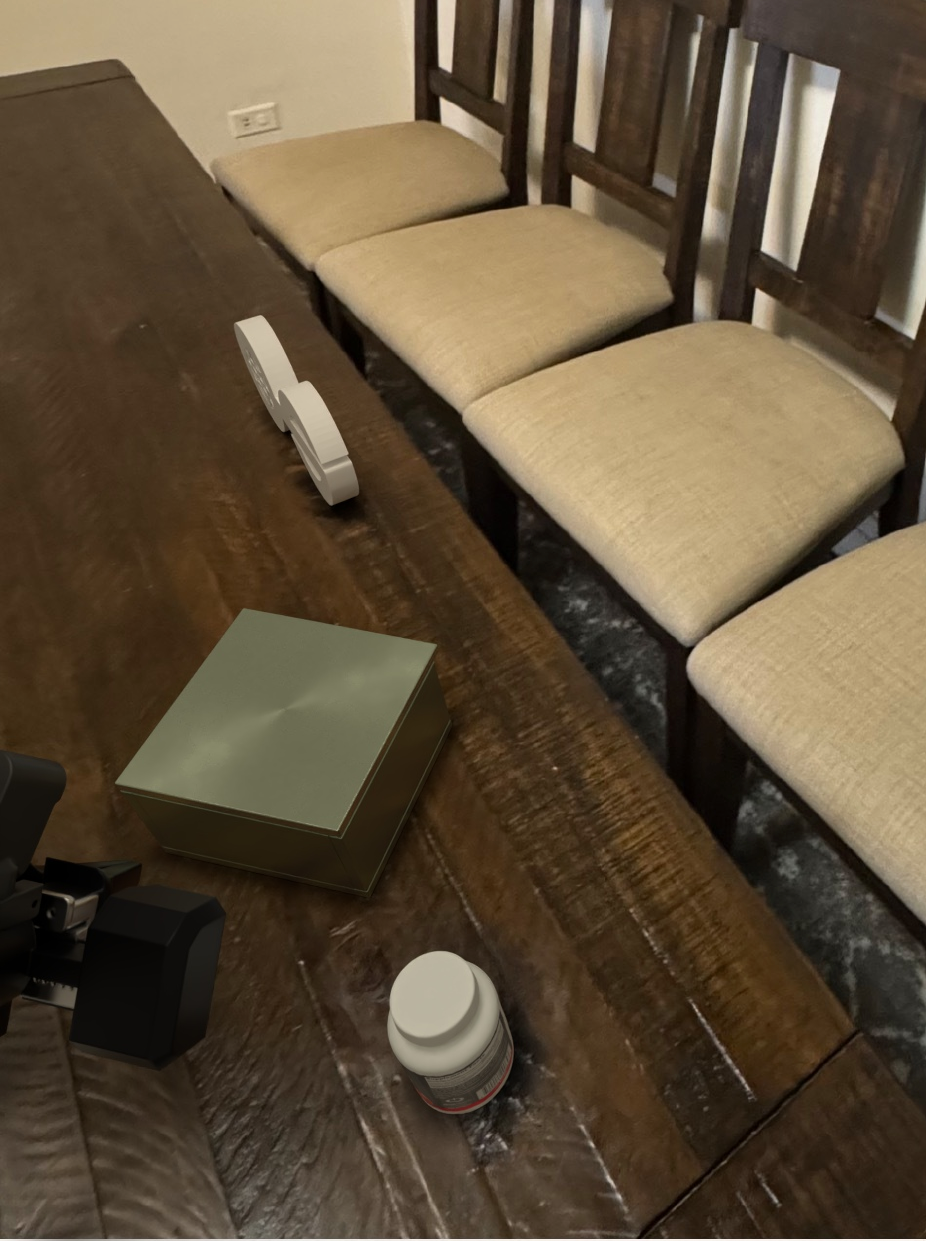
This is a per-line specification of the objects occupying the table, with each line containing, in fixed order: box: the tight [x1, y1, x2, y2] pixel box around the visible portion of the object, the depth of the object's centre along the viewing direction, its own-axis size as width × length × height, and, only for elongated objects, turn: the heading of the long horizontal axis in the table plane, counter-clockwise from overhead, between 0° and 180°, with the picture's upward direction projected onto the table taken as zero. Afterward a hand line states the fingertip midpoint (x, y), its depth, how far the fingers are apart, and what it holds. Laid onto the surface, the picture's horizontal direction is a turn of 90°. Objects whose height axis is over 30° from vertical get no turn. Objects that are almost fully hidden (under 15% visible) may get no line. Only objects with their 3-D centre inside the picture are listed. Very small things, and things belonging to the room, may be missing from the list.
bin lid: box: [114, 607, 440, 837], centre depth 61 cm, size 13×14×1 cm
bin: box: [119, 661, 453, 899], centre depth 63 cm, size 13×14×7 cm
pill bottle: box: [386, 950, 515, 1115], centre depth 51 cm, size 5×5×10 cm
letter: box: [233, 314, 360, 506], centre depth 86 cm, size 22×2×10 cm, turn 36°
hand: (134, 871), depth 49 cm, fingers closed
